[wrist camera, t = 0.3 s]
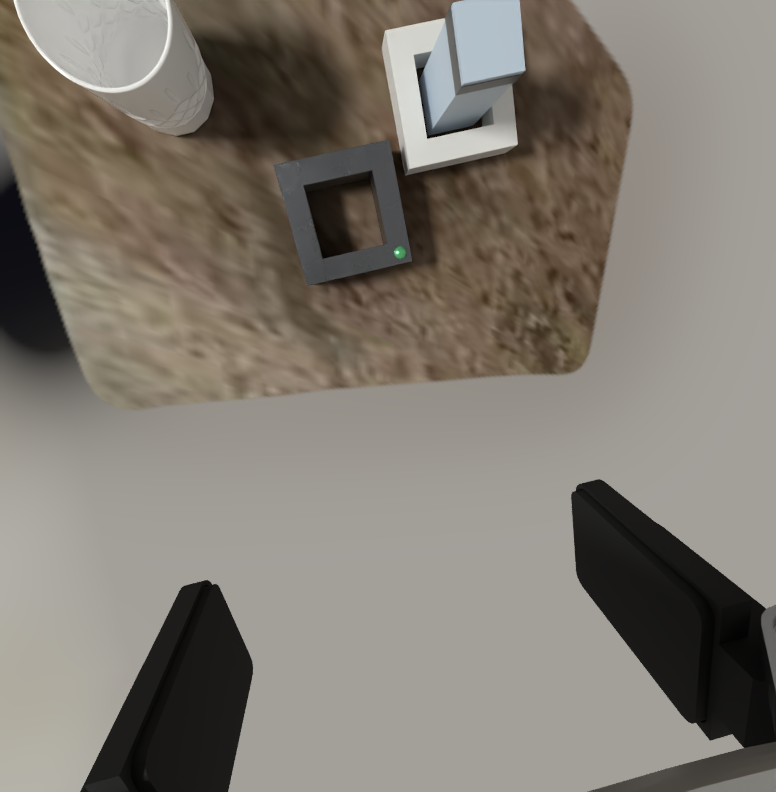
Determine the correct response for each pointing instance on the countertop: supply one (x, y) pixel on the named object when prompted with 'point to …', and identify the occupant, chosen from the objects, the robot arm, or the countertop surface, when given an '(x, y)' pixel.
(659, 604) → the robot arm
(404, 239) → the port
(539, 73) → the countertop surface
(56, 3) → the white cup
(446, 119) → the plug
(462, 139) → the holster
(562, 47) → the countertop surface
